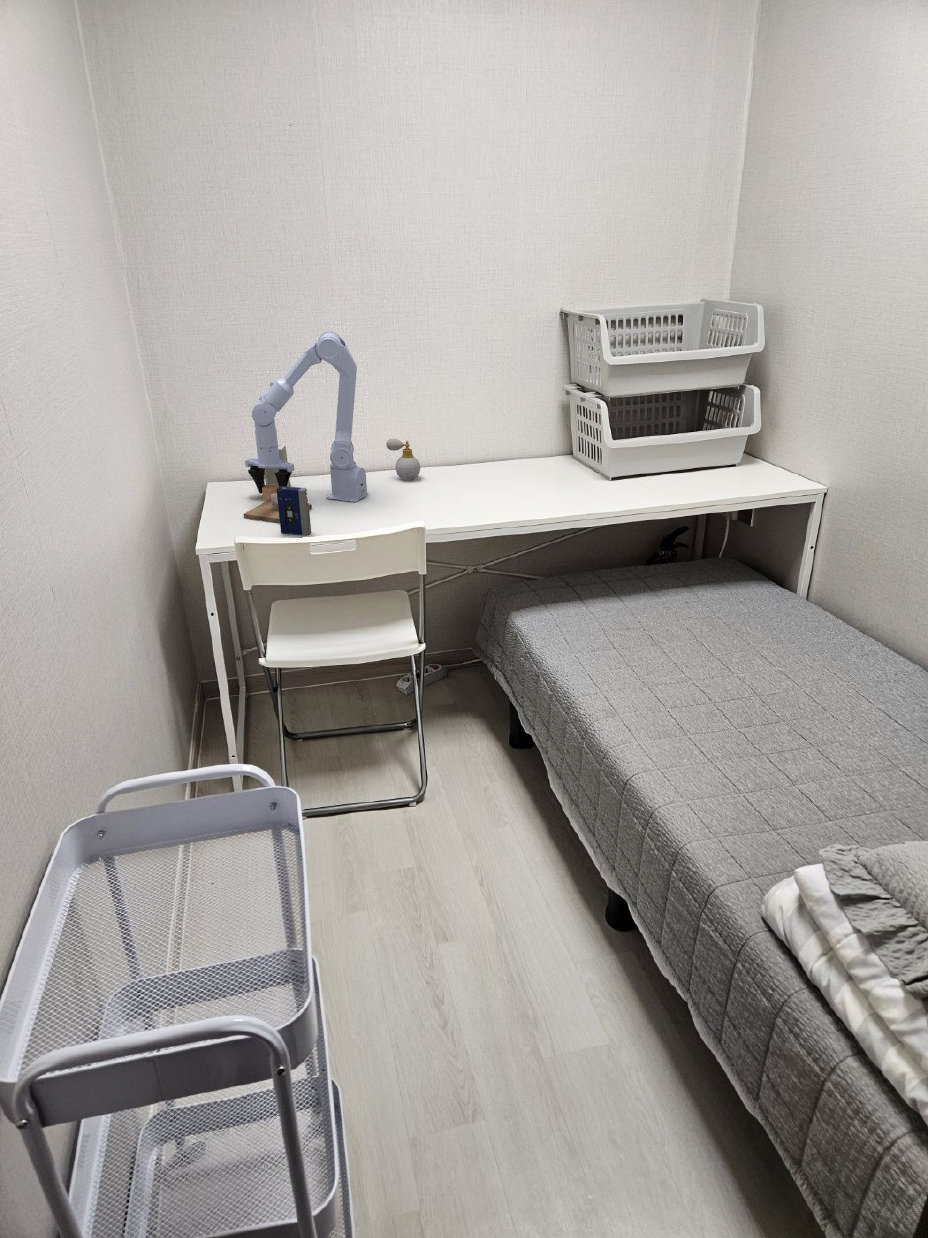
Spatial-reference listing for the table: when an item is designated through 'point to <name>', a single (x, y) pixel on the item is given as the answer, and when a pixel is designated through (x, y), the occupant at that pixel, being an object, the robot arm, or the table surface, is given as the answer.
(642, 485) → the table surface
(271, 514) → the stud block
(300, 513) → the cassette player
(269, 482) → the skincare box
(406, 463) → the perfume bottle
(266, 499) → the cap
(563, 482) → the table surface
